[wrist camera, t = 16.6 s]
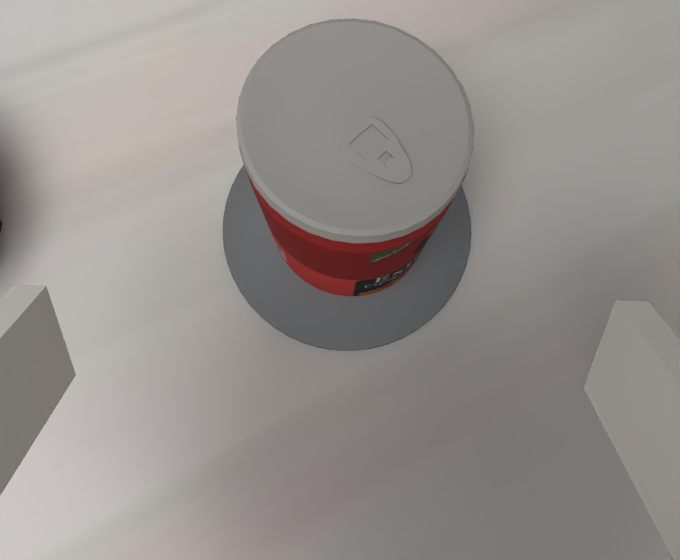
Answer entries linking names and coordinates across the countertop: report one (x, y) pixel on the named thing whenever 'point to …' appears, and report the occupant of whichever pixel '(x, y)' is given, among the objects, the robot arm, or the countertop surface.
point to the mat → (336, 310)
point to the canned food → (353, 150)
